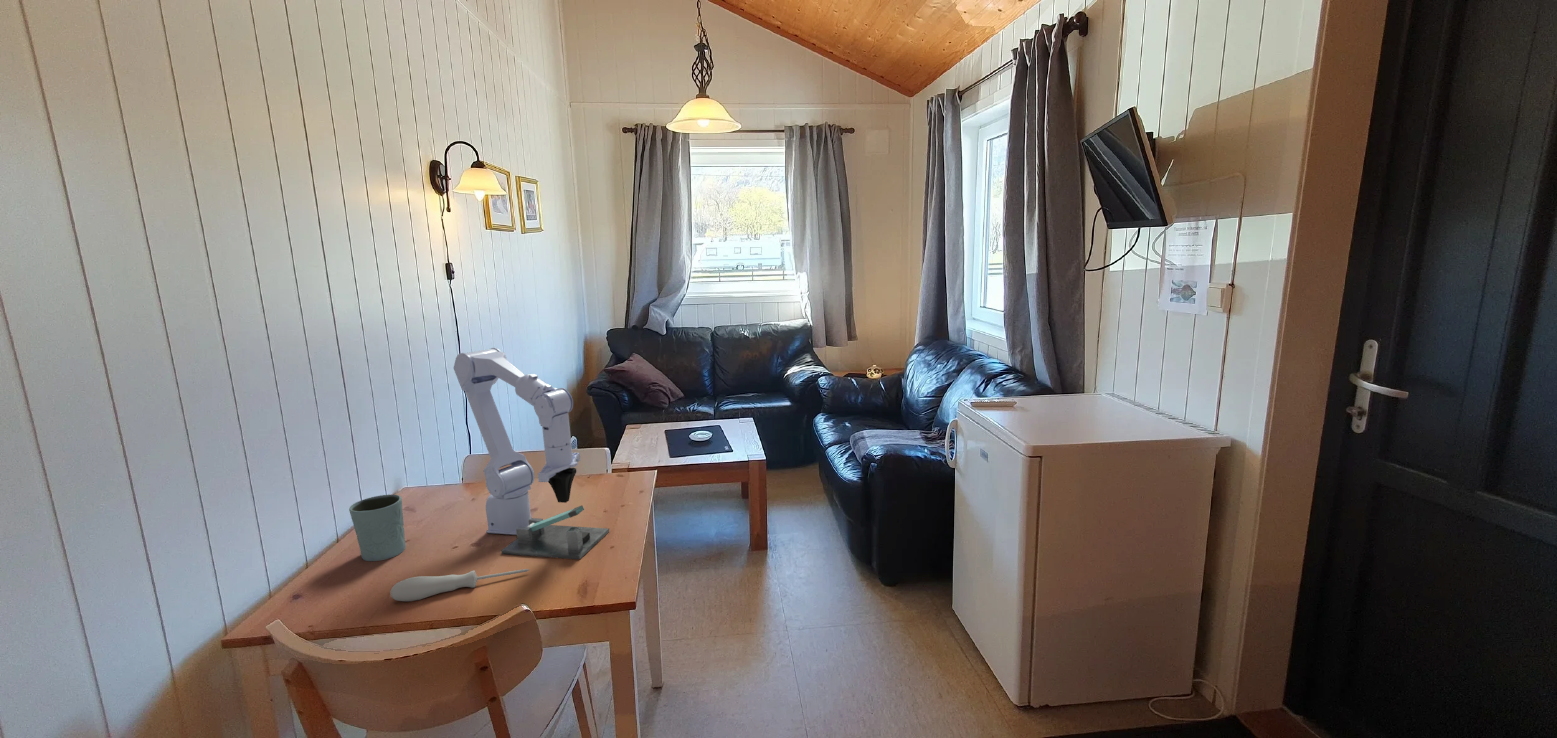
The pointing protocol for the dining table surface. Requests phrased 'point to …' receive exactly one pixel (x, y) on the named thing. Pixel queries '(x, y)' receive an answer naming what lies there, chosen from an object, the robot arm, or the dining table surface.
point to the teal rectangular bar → (556, 518)
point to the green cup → (379, 527)
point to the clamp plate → (555, 541)
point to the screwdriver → (437, 584)
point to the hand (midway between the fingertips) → (563, 501)
